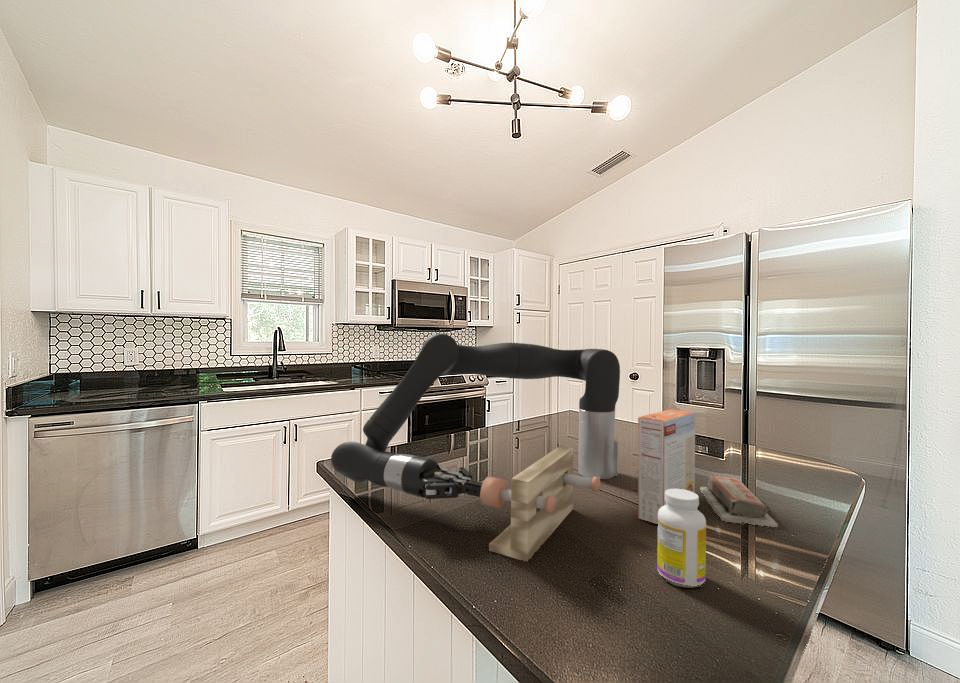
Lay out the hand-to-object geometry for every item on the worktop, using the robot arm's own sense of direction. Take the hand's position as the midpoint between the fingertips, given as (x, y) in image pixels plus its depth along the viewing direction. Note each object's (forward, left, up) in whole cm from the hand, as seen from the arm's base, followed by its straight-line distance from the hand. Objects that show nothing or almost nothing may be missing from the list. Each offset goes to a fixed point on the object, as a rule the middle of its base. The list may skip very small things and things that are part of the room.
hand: (485, 490), depth 77 cm
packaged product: (-56, 0, -9) cm, 56 cm away
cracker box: (-39, 0, -8) cm, 39 cm away
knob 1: (-5, +5, -2) cm, 7 cm away
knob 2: (-17, -2, -2) cm, 18 cm away
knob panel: (-10, 0, -8) cm, 13 cm away
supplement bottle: (-25, +20, -8) cm, 34 cm away
